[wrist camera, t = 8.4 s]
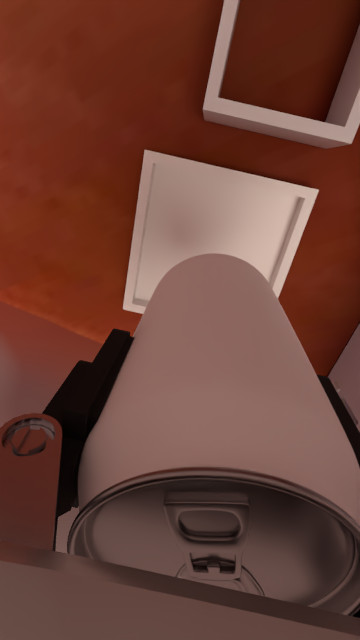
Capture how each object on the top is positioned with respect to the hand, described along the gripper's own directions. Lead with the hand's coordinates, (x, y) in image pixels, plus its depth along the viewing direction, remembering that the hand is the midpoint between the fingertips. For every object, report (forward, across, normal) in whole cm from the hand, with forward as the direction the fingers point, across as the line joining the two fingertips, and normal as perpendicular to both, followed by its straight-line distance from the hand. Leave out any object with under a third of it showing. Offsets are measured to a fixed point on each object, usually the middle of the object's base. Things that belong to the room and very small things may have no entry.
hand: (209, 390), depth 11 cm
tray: (+21, 0, 0) cm, 21 cm away
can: (+7, 0, 0) cm, 7 cm away
